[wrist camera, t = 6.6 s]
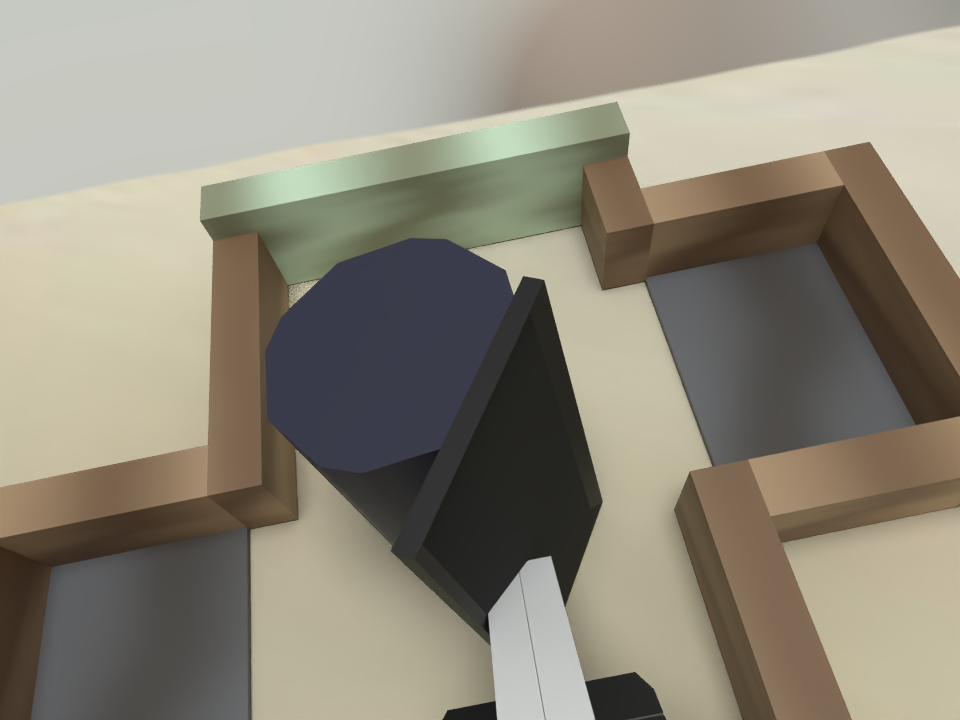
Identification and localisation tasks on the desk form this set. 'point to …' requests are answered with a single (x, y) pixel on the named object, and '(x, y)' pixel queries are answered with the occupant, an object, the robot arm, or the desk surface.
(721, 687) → the desk surface
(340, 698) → the desk surface
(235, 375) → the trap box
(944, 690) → the desk surface
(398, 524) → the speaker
